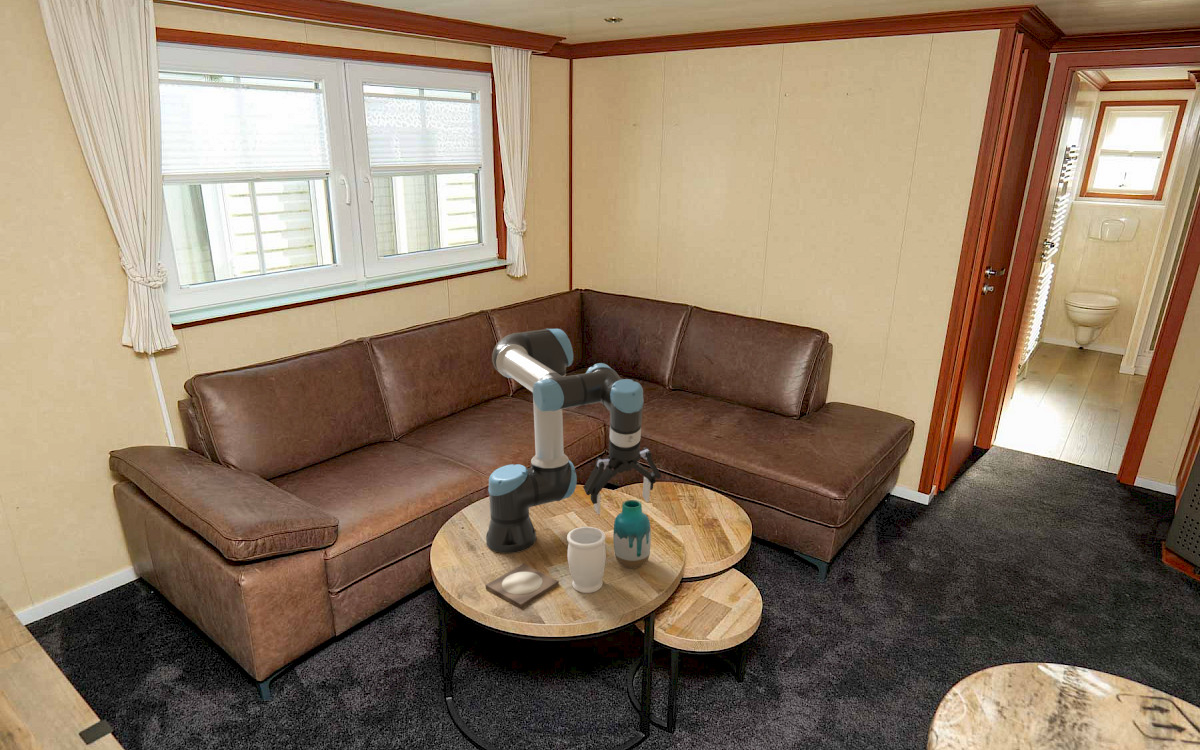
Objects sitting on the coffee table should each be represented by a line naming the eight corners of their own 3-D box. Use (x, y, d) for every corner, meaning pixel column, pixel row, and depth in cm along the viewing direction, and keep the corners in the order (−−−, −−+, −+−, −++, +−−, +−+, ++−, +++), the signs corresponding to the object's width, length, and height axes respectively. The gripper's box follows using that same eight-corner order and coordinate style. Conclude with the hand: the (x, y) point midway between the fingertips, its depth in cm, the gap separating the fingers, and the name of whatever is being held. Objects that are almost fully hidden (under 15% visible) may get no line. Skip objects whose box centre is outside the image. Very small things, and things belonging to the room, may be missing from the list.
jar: (563, 578, 192) (561, 530, 187) (598, 571, 195) (597, 523, 191) (575, 599, 182) (574, 548, 178) (612, 591, 185) (611, 541, 181)
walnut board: (485, 588, 187) (485, 584, 187) (523, 567, 197) (523, 563, 197) (521, 608, 178) (520, 604, 178) (558, 584, 189) (558, 580, 188)
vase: (647, 576, 192) (648, 513, 187) (610, 572, 194) (609, 510, 189) (652, 556, 202) (653, 496, 197) (617, 553, 204) (616, 494, 199)
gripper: (581, 459, 160) (580, 526, 171) (678, 438, 167) (671, 503, 179) (570, 440, 166) (571, 506, 177) (665, 420, 173) (659, 485, 185)
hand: (621, 505), depth 178 cm, fingers open, 13 cm apart
